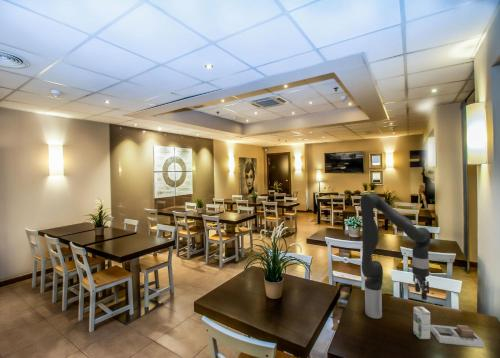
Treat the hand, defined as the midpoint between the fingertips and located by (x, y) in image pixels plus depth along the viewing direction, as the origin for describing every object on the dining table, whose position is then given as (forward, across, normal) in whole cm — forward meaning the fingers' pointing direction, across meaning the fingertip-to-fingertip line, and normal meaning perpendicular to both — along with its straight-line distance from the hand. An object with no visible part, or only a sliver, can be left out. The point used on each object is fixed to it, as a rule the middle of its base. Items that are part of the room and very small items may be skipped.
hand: (420, 295), depth 135 cm
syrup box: (+22, -1, 0) cm, 22 cm away
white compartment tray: (+22, -2, +16) cm, 28 cm away
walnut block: (+22, -2, +21) cm, 31 cm away
